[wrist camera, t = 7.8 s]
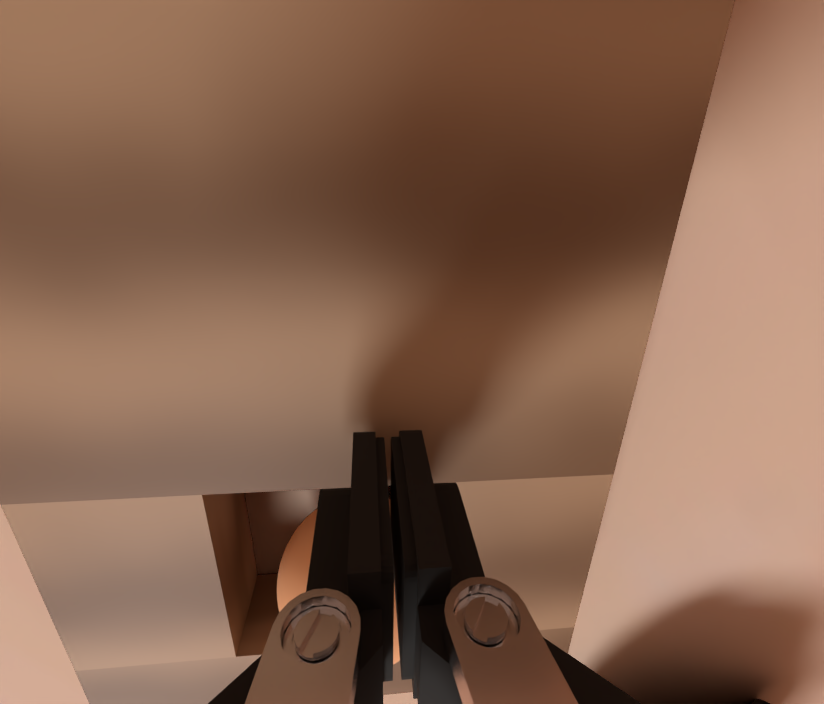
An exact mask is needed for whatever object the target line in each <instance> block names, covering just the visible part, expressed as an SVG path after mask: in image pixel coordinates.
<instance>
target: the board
mask: <svg viewBox="0 0 824 704" xmlns="http://www.w3.org/2000/svg"><path fill="white" fill-rule="evenodd" d="M734 2H735V0H0V504H1V507H2V509H3V511H4V513H5V515H6V518H7V520H8V522H9V524H10V527H11V529H12V531H13V533H14V536H15V538H16V540H17V542H18V545H19V547H20V549H21V551H22V554H23V556H24V558H25V560H26V563H27V565H28V567H29V569H30V571H31V574H32V576H33V578H34V580H35V583H36V585H37V587H38V589H39V592H40V594H41V596H42V598H43V601H44V603H45V605H46V607H47V610H48V612H49V614H50V616H51V619H52V621H53V623H54V625H55V627H56V630H57V632H58V634H59V636H60V639H61V641H62V643H63V645H64V648H65V650H66V652H67V654H68V657H69V659H70V661H71V663H72V666H73V668H74V670H75V672H76V675H77V677H78V679H79V681H80V683H81V686H82V688H83V690H84V692H85V695H86V697H87V699H88V701H89V704H208V703H209V702H210V701H211V700H212V699H213V698H215V697H216V696H217V695H218V694H219V693H220V692H221V691H222V690H223V689H225V688H226V687H227V686H228V685H229V684H230V683H231V682H232V681H233V680H235V679H236V678H237V677H238V676H239V675H240V674H241V673H242V672H243V671H244V670H246V669H247V668H248V667H249V666H250V665H251V664H252V663H253V662H254V661H256V660H257V659H258V658H259V657H260V656H261V655H262V654H263V651H264V648H265V645H266V642H267V640H268V637H269V634H270V631H271V628H272V626H273V623H274V622H275V620H276V618H277V616H278V614H279V608H278V602H277V578H278V574H265V575H257V568H256V562H255V556H254V550H253V544H252V537H251V531H250V525H249V519H248V513H247V506H246V500H245V494H244V493H250V492H270V491H290V490H310V489H330V488H350V487H351V473H352V450H353V432H375V435H376V437H384V441H385V454H386V467H387V481H388V486H390V485H391V437H399V431H403V430H422V434H423V438H424V443H425V447H426V452H427V456H428V461H429V465H430V470H431V474H432V479H433V483H453V482H456V484H457V485H458V488H459V491H460V494H461V497H462V501H463V504H464V507H465V511H466V514H467V518H468V521H469V524H470V528H471V531H472V534H473V538H474V541H475V544H476V548H477V551H478V554H479V558H480V561H481V565H482V568H483V571H484V575H485V577H487V578H491V579H496V580H498V581H500V582H502V583H504V584H506V585H508V586H509V587H510V588H511V589H512V590H514V591H515V592H516V593H517V594H518V595H519V597H520V598H521V599H522V601H523V602H524V603H525V605H526V607H527V609H528V611H529V612H530V614H531V616H532V618H533V620H534V622H535V624H536V626H537V627H538V629H539V631H540V633H541V635H542V637H544V638H545V639H547V640H548V641H550V642H551V643H553V644H554V645H556V646H557V647H558V648H560V649H561V650H563V651H564V652H566V653H567V654H568V650H569V646H570V642H571V638H572V634H573V630H574V626H575V622H576V618H577V615H578V611H579V607H580V603H581V599H582V595H583V591H584V587H585V583H586V579H587V575H588V572H589V568H590V564H591V560H592V556H593V552H594V548H595V544H596V540H597V536H598V533H599V529H600V525H601V521H602V517H603V513H604V509H605V505H606V501H607V497H608V493H609V490H610V486H611V482H612V478H613V474H614V470H615V466H616V462H617V458H618V454H619V451H620V447H621V443H622V439H623V435H624V431H625V427H626V423H627V419H628V415H629V411H630V408H631V404H632V400H633V396H634V392H635V388H636V384H637V380H638V376H639V372H640V369H641V365H642V361H643V357H644V353H645V349H646V345H647V341H648V337H649V333H650V330H651V326H652V322H653V318H654V314H655V310H656V306H657V302H658V298H659V294H660V290H661V287H662V283H663V279H664V275H665V271H666V267H667V263H668V259H669V255H670V251H671V248H672V244H673V240H674V236H675V232H676V228H677V224H678V220H679V216H680V212H681V208H682V205H683V201H684V197H685V193H686V189H687V185H688V181H689V177H690V173H691V169H692V166H693V162H694V158H695V154H696V150H697V146H698V142H699V138H700V134H701V130H702V126H703V123H704V119H705V115H706V111H707V107H708V103H709V99H710V95H711V91H712V87H713V84H714V80H715V76H716V72H717V68H718V64H719V60H720V56H721V52H722V48H723V44H724V41H725V37H726V33H727V29H728V25H729V21H730V17H731V13H732V9H733V5H734ZM407 692H413V688H412V679H407V680H402V679H401V668H400V661H398V662H397V663H395V664H394V665H393V681H386V682H383V695H387V694H397V693H407Z"/></svg>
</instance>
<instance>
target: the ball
mask: <svg viewBox="0 0 824 704" xmlns="http://www.w3.org/2000/svg"><path fill="white" fill-rule="evenodd" d="M389 507H390V499H389ZM316 516H317V509H316V510H315V511H313V512H312V513H311V514H310V515H309V516H307V518H306V519H305V520H304V521H303V522H302V523H301V524H300V525H299V526H298V528H297V529H296V531H295V532H294V534H293V535H292V537H291V538H290V540H289V542H288V544H287V546H286V548H285V551H284V553H283V556H282V559H281V563H280V567H279V571H278V578H277V602H278V608H279V612H280V611H281V610H282V609H283V608H284V607H285V606H286V604H287V603H288V602H289V601H291V600H292V599H294V598H295V597H297V596H298V595H300V594H302V593H304V592H306V588H307V581H308V573H309V566H310V559H311V552H312V544H313V537H314V530H315V523H316ZM398 661H400V654H399V641H398V627H397V613H396V599H395V586H394V628H393V665H394V664H395V663H397V662H398Z"/></svg>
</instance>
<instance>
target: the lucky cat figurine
mask: <svg viewBox="0 0 824 704" xmlns="http://www.w3.org/2000/svg"><path fill="white" fill-rule="evenodd" d="M753 704H770V703H768V702H766V701H763V700H761V699H755V700H754V703H753Z"/></svg>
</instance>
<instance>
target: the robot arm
mask: <svg viewBox="0 0 824 704" xmlns="http://www.w3.org/2000/svg"><path fill="white" fill-rule="evenodd" d="M394 586H395V599H396V613H397V627H398V641H399V654H400V668H401V679H402V680H407V679H412V688H413V698H414V699H416V698H418V704H641V703H640V702H638V701H637V700H635V699H634V698H632V697H631V696H629V695H628V694H626V693H625V692H623V691H622V690H620V689H619V688H617V687H616V686H615V685H613V684H612V683H610V682H609V681H607V680H606V679H604V678H603V677H601V676H600V675H598V674H597V673H595V672H594V671H592V670H591V669H589V668H588V667H586V666H585V665H584V664H582V663H581V662H579V661H578V660H576V659H575V658H573V657H572V656H570V655H569V654H567V653H566V652H564V651H563V650H561V649H560V648H558V647H557V646H556V645H554V644H553V643H551V642H550V641H548V640H547V639H545V638H544V637H542V635H541V633H540V631H539V629H538V627H537V626H536V624H535V622H534V620H533V618H532V616H531V614H530V612H529V611H528V609H527V607H526V605H525V603H524V602H523V601H522V599H521V598H520V597H519V595H518V594H517V593H516V592H515V591H514V590H512V589H511V588H510V587H509V586H508V585H506V584H504V583H502V582H500V581H498V580H496V579H491V578H487V577H485V575H484V571H483V568H482V565H481V561H480V558H479V554H478V551H477V548H476V544H475V541H474V538H473V534H472V531H471V528H470V524H469V521H468V518H467V514H466V511H465V507H464V504H463V501H462V497H461V494H460V491H459V488H458V485H457V484H456V482H453V483H433V479H432V474H431V470H430V465H429V461H428V456H427V452H426V447H425V443H424V438H423V434H422V430H403V431H399V437H391V495H390V507H389V494H388V481H387V467H386V454H385V441H384V437H376V435H375V432H353V450H352V473H351V488H333V489H321V490H320V495H319V501H318V508H317V516H316V523H315V530H314V537H313V544H312V552H311V559H310V566H309V573H308V581H307V588H306V592H304V593H302V594H300V595H298V596H297V597H295V598H294V599H292V600H291V601H289V602H288V603H287V604H286V606H285V607H284V608H283V609H282V610H281V611H280V612H279V614H278V616H277V618H276V620H275V622H274V623H273V626H272V628H271V631H270V634H269V637H268V640H267V642H266V645H265V648H264V651H263V654H262V655H261V656H260V657H259V658H258V659H257V660H256V661H254V662H253V663H252V664H251V665H250V666H249V667H248V668H247V669H246V670H244V671H243V672H242V673H241V674H240V675H239V676H238V677H237V678H236V679H235V680H233V681H232V682H231V683H230V684H229V685H228V686H227V687H226V688H225V689H223V690H222V691H221V692H220V693H219V694H218V695H217V696H216V697H215V698H213V699H212V700H211V701H210V702H209V703H208V704H383V682H386V681H393V628H394Z"/></svg>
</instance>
